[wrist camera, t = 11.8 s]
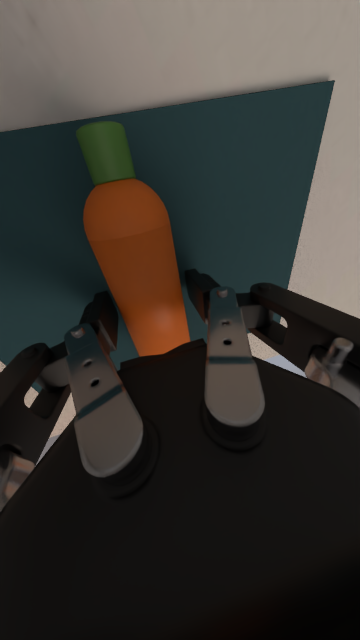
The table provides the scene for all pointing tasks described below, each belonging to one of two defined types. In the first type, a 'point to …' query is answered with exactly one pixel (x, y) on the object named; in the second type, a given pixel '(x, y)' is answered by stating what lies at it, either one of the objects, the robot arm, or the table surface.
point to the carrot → (132, 242)
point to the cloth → (175, 192)
